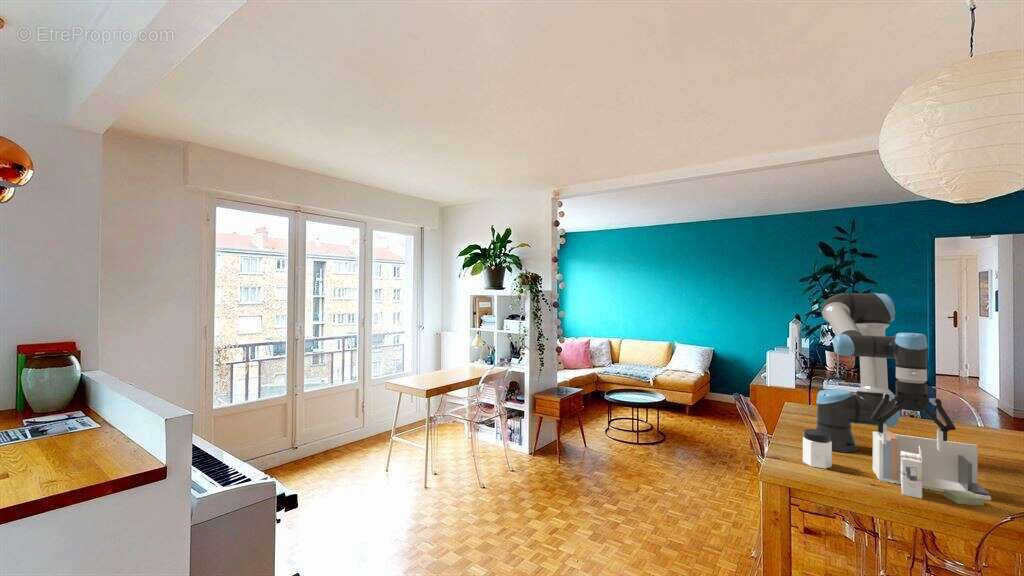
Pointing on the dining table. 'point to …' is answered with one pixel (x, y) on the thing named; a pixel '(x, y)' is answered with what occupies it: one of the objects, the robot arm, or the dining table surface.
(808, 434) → the jar
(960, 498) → the fallen book
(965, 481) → the bookend
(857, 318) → the robot arm
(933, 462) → the shelf
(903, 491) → the ink box
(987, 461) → the dining table surface
